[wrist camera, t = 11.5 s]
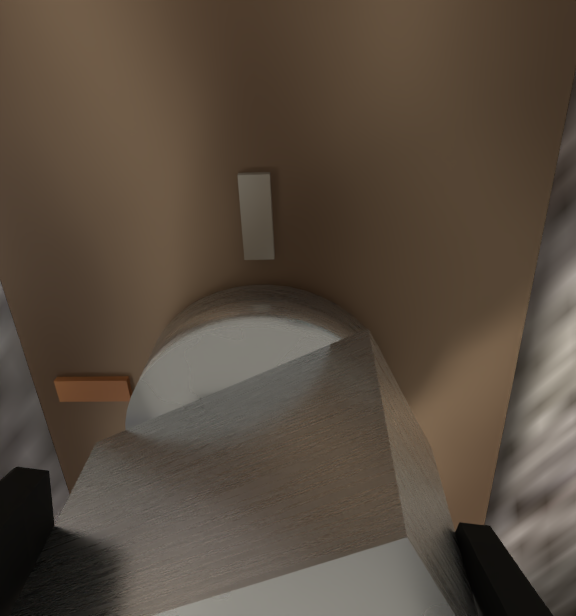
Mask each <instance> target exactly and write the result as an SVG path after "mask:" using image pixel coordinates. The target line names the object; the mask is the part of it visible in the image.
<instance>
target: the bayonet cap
mask: <svg viewBox="0 0 576 616" xmlns="http://www.w3.org/2000/svg"><path fill="white" fill-rule="evenodd" d="M125 429H126V430H124V431H122V432H120V433H117V434H115V435H113V436H110V437H108V438H105V439H103V440H101V441H98V442H96V444H95V446H94V448H93V450H92V452H91V454H90V456H89V458H88V460H87V462H86V464H85V466H84V468H83V470H82V472H81V474H80V476H79V478H78V480H77V482H76V484H75V486H74V488H73V490H72V492H71V494H70V496H69V498H68V500H67V502H66V504H65V506H64V508H63V510H62V512H61V514H60V516H59V518H58V520H57V522H56V524H55V526H54V528H53V530H52V532H51V534H50V536H49V538H48V540H47V542H46V544H45V546H44V548H43V550H42V552H41V554H40V556H39V558H38V560H37V562H36V564H35V566H34V568H33V570H32V572H31V574H30V576H29V578H28V580H27V582H26V584H25V586H24V588H23V590H22V592H21V594H20V596H19V598H18V600H17V602H16V604H15V606H14V608H13V610H12V612H11V614H10V616H479V615H478V612H477V608H476V605H475V601H474V597H473V594H472V590H471V587H470V584H469V581H468V577H467V573H466V570H465V566H464V563H463V559H462V556H461V552H460V548H459V545H458V541H457V538H456V534H455V530H454V526H453V522H452V519H451V515H450V512H449V508H448V505H447V501H446V497H445V494H444V490H443V487H442V483H441V480H440V476H439V472H438V469H437V465H436V462H435V458H434V454H433V451H432V448H431V446H430V444H429V442H428V440H427V438H426V436H425V434H424V432H423V431H422V429H421V427H420V425H419V423H418V421H417V419H416V417H415V415H414V414H413V412H412V410H411V408H410V406H409V404H408V402H407V400H406V398H405V397H404V395H403V393H402V391H401V389H400V387H399V385H398V383H397V381H396V380H395V378H394V376H393V374H392V372H391V370H390V368H389V366H388V364H387V363H386V361H385V359H384V357H383V355H382V353H381V351H380V348H379V346H378V345H377V343H376V342H375V340H374V338H373V336H372V334H371V332H370V330H369V329H366V328H365V327H364V326H363V325H362V324H361V323H360V322H359V321H358V320H357V319H356V318H355V317H354V316H352V315H351V314H350V313H349V312H347V311H346V310H344V309H343V308H341V307H340V306H338V305H337V304H335V303H333V302H331V301H329V300H327V299H325V298H323V297H321V296H319V295H316V294H313V293H310V292H308V291H305V290H300V289H296V288H292V287H287V286H277V285H248V286H241V287H234V288H230V289H226V290H223V291H219V292H216V293H214V294H211V295H209V296H206V297H204V298H202V299H200V300H199V301H197V302H195V303H193V304H191V305H190V306H188V307H187V308H186V309H184V310H183V311H182V312H181V313H179V314H178V315H177V316H176V317H175V318H174V319H173V320H172V321H171V322H170V323H169V324H168V325H167V327H166V328H165V329H164V331H163V332H162V334H161V335H160V337H159V339H158V341H157V343H156V345H155V347H154V349H153V351H152V353H151V355H150V357H149V359H148V361H147V364H146V366H145V368H144V370H143V372H142V374H141V376H140V379H139V381H138V383H137V385H136V387H135V389H134V391H133V393H132V396H131V398H130V402H129V405H128V408H127V413H126V422H125Z"/></svg>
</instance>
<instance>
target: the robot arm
mask: <svg viewBox="0 0 576 616" xmlns="http://www.w3.org/2000/svg"><path fill="white" fill-rule="evenodd" d="M53 528H54V517H53V507H52V497H51V487H50V477H49V471H46V470H38V469H30V468H22V467H16V468H14V469H13V470H11V471H10V472H9V473H8V474H7V475H6V476H5V477H4V478H2V479H1V480H0V616H10V614H11V612H12V610H13V608H14V606H15V604H16V602H17V600H18V598H19V596H20V594H21V592H22V590H23V588H24V586H25V584H26V582H27V580H28V578H29V576H30V574H31V572H32V570H33V568H34V566H35V564H36V562H37V560H38V558H39V556H40V554H41V552H42V550H43V548H44V546H45V544H46V542H47V540H48V538H49V536H50V534H51V532H52V530H53ZM455 534H456V538H457V541H458V545H459V548H460V552H461V556H462V559H463V563H464V566H465V570H466V573H467V577H468V581H469V584H470V587H471V590H472V594H473V597H474V601H475V605H476V608H477V612H478V615H479V616H553V615H552V613H551V612H550V610H549V609H548V608H547V606H546V605H545V604H544V602H543V601H542V599H541V598H540V597H539V595H538V594H537V592H536V591H535V589H534V588H533V587H532V585H531V584H530V582H529V581H528V580H527V578H526V577H525V575H524V574H523V572H522V571H521V570H520V568H519V567H518V565H517V564H516V562H515V561H514V559H513V558H512V557H511V555H510V554H509V552H508V551H507V549H506V548H505V547H504V545H503V544H502V542H501V541H500V539H499V538H498V537H497V535H496V534H495V532H494V531H493V530H492V528H491V527H490V526H487V525H479V524H471V523H463V522H459V524H458V527H457V529H456V531H455Z"/></svg>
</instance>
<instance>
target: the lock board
mask: <svg viewBox="0 0 576 616" xmlns="http://www.w3.org/2000/svg"><path fill="white" fill-rule="evenodd" d="M575 70H576V0H0V280H1V284H2V287H3V290H4V293H5V296H6V299H7V302H8V305H9V308H10V311H11V314H12V318H13V321H14V324H15V327H16V330H17V333H18V336H19V339H20V342H21V345H22V348H23V351H24V355H25V358H26V361H27V364H28V367H29V370H30V373H31V376H32V379H33V382H34V385H35V389H36V392H37V395H38V398H39V401H40V404H41V407H42V410H43V413H44V416H45V419H46V422H47V426H48V429H49V432H50V435H51V438H52V441H53V444H54V447H55V450H56V453H57V456H58V460H59V463H60V466H61V469H62V472H63V475H64V478H65V481H66V484H67V487H68V490H69V494H71V492H72V490H73V488H74V486H75V484H76V482H77V480H78V478H79V476H80V474H81V472H82V470H83V468H84V466H85V464H86V462H87V460H88V458H89V456H90V454H91V452H92V450H93V448H94V446H95V444H96V442H98V441H101V440H103V439H105V438H108V437H110V436H113V435H115V434H117V433H120V432H122V431H124V430H126V429H125V422H126V413H127V408H128V405H129V402H130V398H131V396H132V393H133V391H134V389H135V387H136V385H137V383H138V381H139V379H140V376H141V374H142V372H143V370H144V368H145V366H146V364H147V361H148V359H149V357H150V355H151V353H152V351H153V349H154V347H155V345H156V343H157V341H158V339H159V337H160V335H161V334H162V332H163V331H164V329H165V328H166V327H167V325H168V324H169V323H170V322H171V321H172V320H173V319H174V318H175V317H176V316H177V315H178V314H179V313H181V312H182V311H183V310H184V309H186V308H187V307H188V306H190V305H191V304H193V303H195V302H197V301H199V300H200V299H202V298H204V297H206V296H209V295H211V294H214V293H216V292H219V291H223V290H226V289H230V288H234V287H241V286H248V285H277V286H287V287H292V288H296V289H300V290H305V291H308V292H310V293H313V294H316V295H319V296H321V297H323V298H325V299H327V300H329V301H331V302H333V303H335V304H337V305H338V306H340V307H341V308H343V309H344V310H346V311H347V312H349V313H350V314H351V315H352V316H354V317H355V318H356V319H357V320H358V321H359V322H360V323H361V324H362V325H363V326H364V327H365V328H366V329H369V330H370V332H371V334H372V336H373V338H374V340H375V342H376V343H377V345H378V346H379V348H380V351H381V353H382V355H383V357H384V359H385V361H386V363H387V364H388V366H389V368H390V370H391V372H392V374H393V376H394V378H395V380H396V381H397V383H398V385H399V387H400V389H401V391H402V393H403V395H404V397H405V398H406V400H407V402H408V404H409V406H410V408H411V410H412V412H413V414H414V415H415V417H416V419H417V421H418V423H419V425H420V427H421V429H422V431H423V432H424V434H425V436H426V438H427V440H428V442H429V444H430V446H431V448H432V451H433V454H434V458H435V462H436V465H437V469H438V472H439V476H440V480H441V483H442V487H443V490H444V494H445V497H446V501H447V505H448V508H449V512H450V515H451V519H452V522H453V526H454V530H455V531H456V529H457V527H458V524H459V522H463V523H471V524H479V525H484V524H485V519H486V514H487V509H488V504H489V499H490V494H491V489H492V484H493V479H494V474H495V469H496V464H497V459H498V454H499V449H500V444H501V439H502V434H503V429H504V424H505V419H506V414H507V409H508V404H509V399H510V394H511V389H512V384H513V379H514V374H515V369H516V364H517V359H518V354H519V349H520V344H521V339H522V334H523V329H524V324H525V319H526V314H527V309H528V304H529V299H530V294H531V289H532V284H533V279H534V274H535V270H536V265H537V260H538V255H539V250H540V245H541V240H542V235H543V230H544V225H545V220H546V215H547V210H548V205H549V200H550V195H551V190H552V185H553V180H554V175H555V170H556V165H557V160H558V155H559V150H560V145H561V140H562V135H563V130H564V125H565V120H566V115H567V110H568V105H569V100H570V95H571V90H572V85H573V80H574V75H575Z"/></svg>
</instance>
